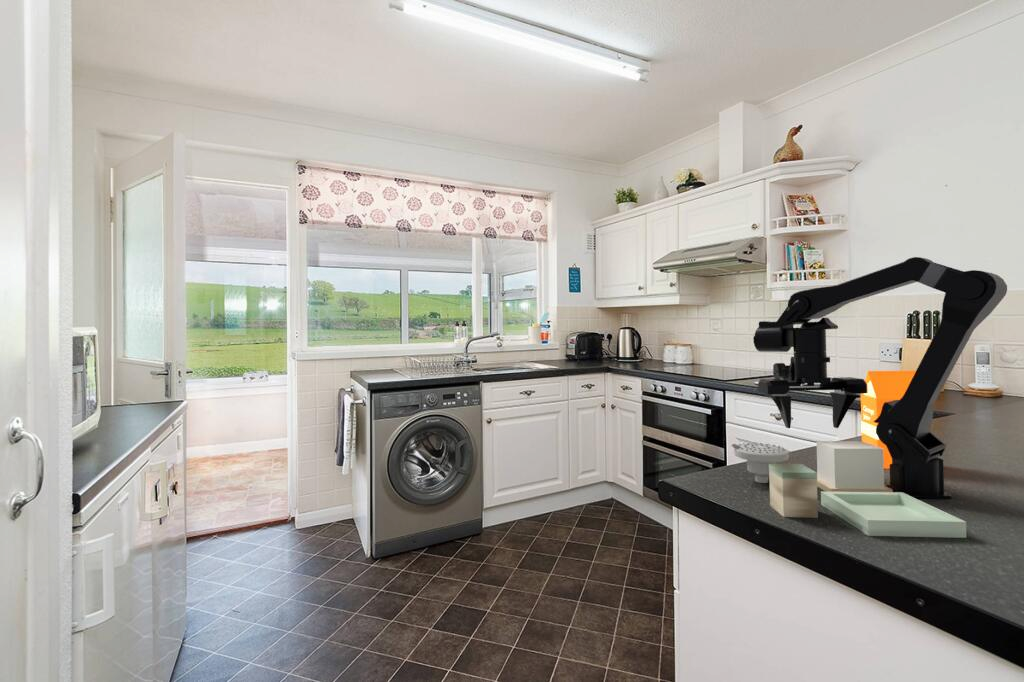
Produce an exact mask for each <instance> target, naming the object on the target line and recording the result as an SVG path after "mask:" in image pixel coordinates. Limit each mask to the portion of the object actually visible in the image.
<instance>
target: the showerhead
mask: <svg viewBox="0 0 1024 682" xmlns="http://www.w3.org/2000/svg"><path fill="white" fill-rule="evenodd" d="M730 446H731V447H732V448H733V453H734V456H735V457H737V458H740V459H742V460H746V466H747V468H746V469H747V471H748V472H750V473H752V474H754V480H755V482H756V483H759V484H767V483H768V482H769V478H768V477H769V464H776V463H780V462H781V463H782V462H786V461H788V460H789V455H790V451H789V450H787V448H784V447H781V445H775V444H770V443H762V442H760V443H757V442H752V443H750V442H747V443H739V444H736V443H731V445H730Z"/></svg>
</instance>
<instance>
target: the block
mask: <svg viewBox="0 0 1024 682" xmlns="http://www.w3.org/2000/svg"><path fill="white" fill-rule="evenodd" d="M768 477H769V478H768V482H769V506H770V507H771V508H772V509H773V510H774V511H776V513H778V514H779V515H780V516H782V517H784V518H819V510H818V509H819V508H818V507H819V505H818V503H819V502H818V487H817V471H815V470H813V469H812V468H809V467H808V466H806V465H804V464H802V463H775V464H769V475H768Z"/></svg>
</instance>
